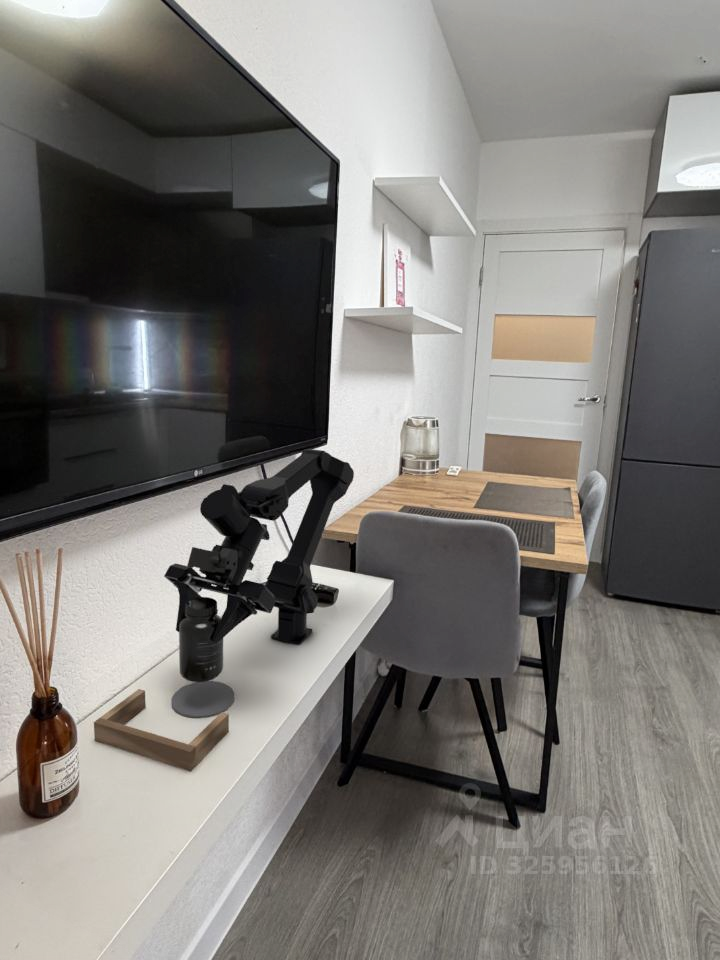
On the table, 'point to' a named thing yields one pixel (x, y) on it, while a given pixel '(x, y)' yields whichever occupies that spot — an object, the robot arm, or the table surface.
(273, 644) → the table surface
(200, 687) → the coaster
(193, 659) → the supplement bottle
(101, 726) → the walnut bay
